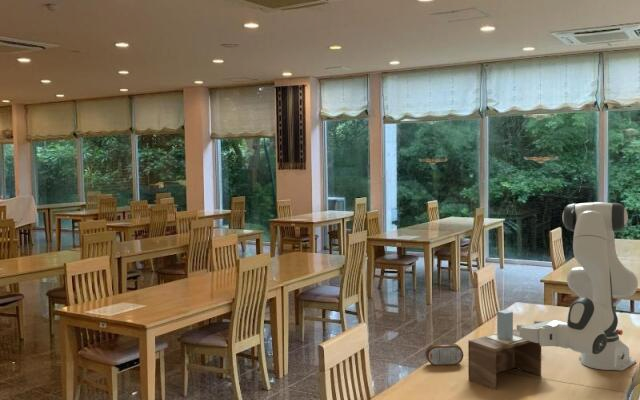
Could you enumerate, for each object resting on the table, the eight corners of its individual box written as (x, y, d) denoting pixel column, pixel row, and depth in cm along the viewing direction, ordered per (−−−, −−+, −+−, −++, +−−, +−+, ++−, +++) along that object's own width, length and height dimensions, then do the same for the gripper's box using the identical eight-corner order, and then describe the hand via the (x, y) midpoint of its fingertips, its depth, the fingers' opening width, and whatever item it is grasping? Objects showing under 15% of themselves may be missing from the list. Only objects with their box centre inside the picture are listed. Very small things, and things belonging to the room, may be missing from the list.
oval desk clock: (462, 363, 258) (462, 342, 257) (464, 365, 255) (464, 345, 254) (425, 364, 257) (425, 343, 257) (427, 366, 254) (426, 346, 254)
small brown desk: (514, 366, 252) (514, 328, 251) (541, 375, 242) (541, 335, 241) (468, 379, 239) (468, 339, 238) (494, 389, 228) (494, 348, 227)
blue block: (504, 335, 242) (504, 309, 241) (512, 338, 239) (512, 311, 238) (497, 337, 240) (497, 311, 239) (505, 339, 236) (505, 313, 236)
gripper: (578, 319, 224) (545, 312, 235) (540, 328, 213) (507, 320, 224) (578, 337, 224) (545, 328, 236) (539, 347, 213) (507, 337, 225)
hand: (526, 324), depth 230 cm, fingers open, 8 cm apart
